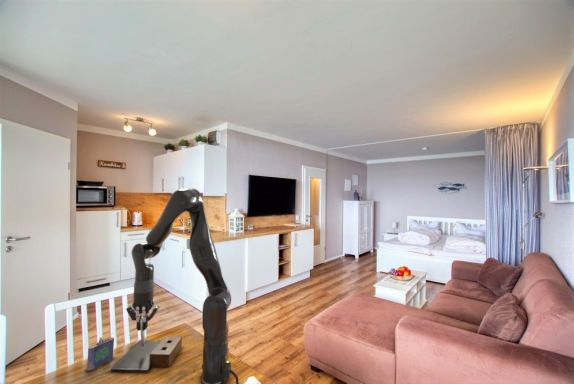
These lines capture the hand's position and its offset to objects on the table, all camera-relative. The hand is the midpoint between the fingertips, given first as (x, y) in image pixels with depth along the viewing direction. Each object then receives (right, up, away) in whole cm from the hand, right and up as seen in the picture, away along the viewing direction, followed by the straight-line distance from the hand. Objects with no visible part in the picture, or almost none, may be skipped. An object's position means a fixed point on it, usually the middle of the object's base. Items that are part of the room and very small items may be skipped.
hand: (141, 329), depth 108 cm
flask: (-14, -12, -5) cm, 19 cm away
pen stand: (+10, -13, +1) cm, 16 cm away
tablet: (0, -12, +1) cm, 12 cm away
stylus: (0, -8, +2) cm, 8 cm away
